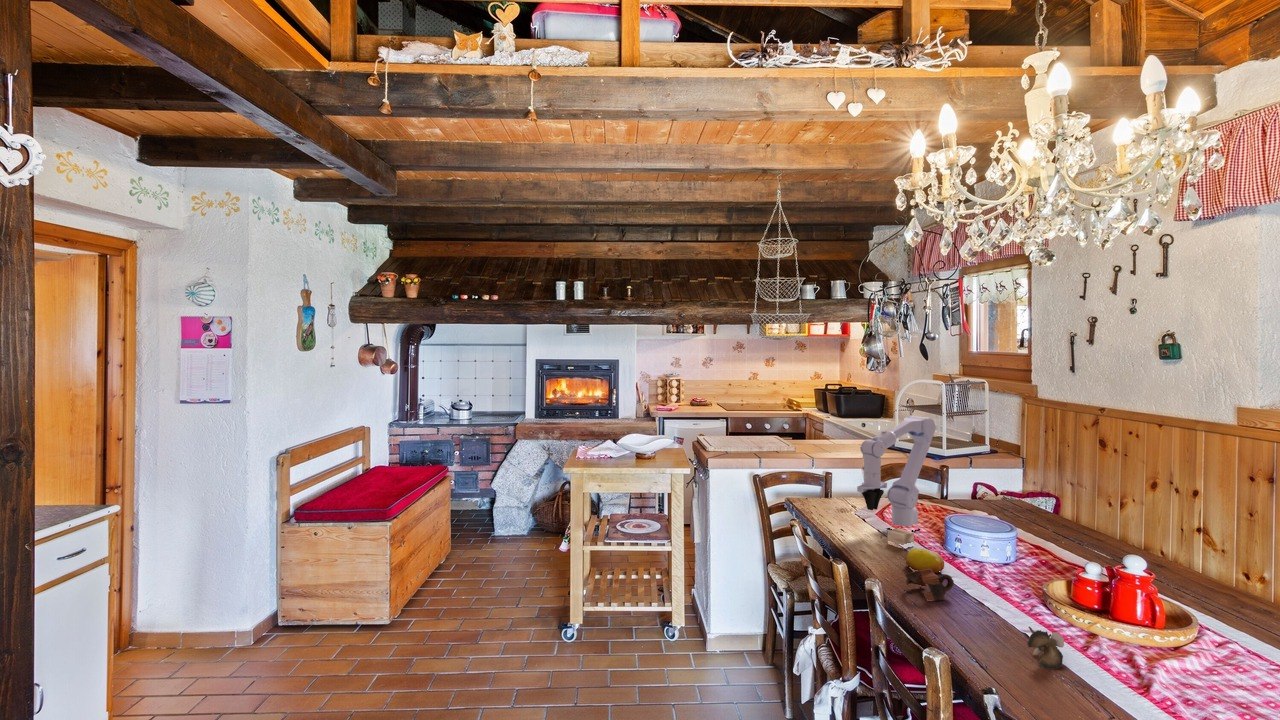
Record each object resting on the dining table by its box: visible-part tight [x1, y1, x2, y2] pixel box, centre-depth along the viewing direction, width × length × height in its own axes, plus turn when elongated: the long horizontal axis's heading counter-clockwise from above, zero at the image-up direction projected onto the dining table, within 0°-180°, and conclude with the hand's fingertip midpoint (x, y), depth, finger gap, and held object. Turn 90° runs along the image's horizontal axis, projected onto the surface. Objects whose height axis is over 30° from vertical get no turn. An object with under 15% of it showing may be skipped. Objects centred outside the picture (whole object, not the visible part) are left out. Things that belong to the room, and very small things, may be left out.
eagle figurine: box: [1026, 626, 1065, 671], centre depth 127 cm, size 8×7×9 cm
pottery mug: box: [905, 569, 955, 602], centre depth 161 cm, size 12×10×8 cm
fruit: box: [905, 547, 945, 574], centre depth 179 cm, size 11×10×8 cm
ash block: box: [887, 528, 915, 545], centre depth 202 cm, size 6×6×5 cm
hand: (872, 509), depth 214 cm, fingers closed
